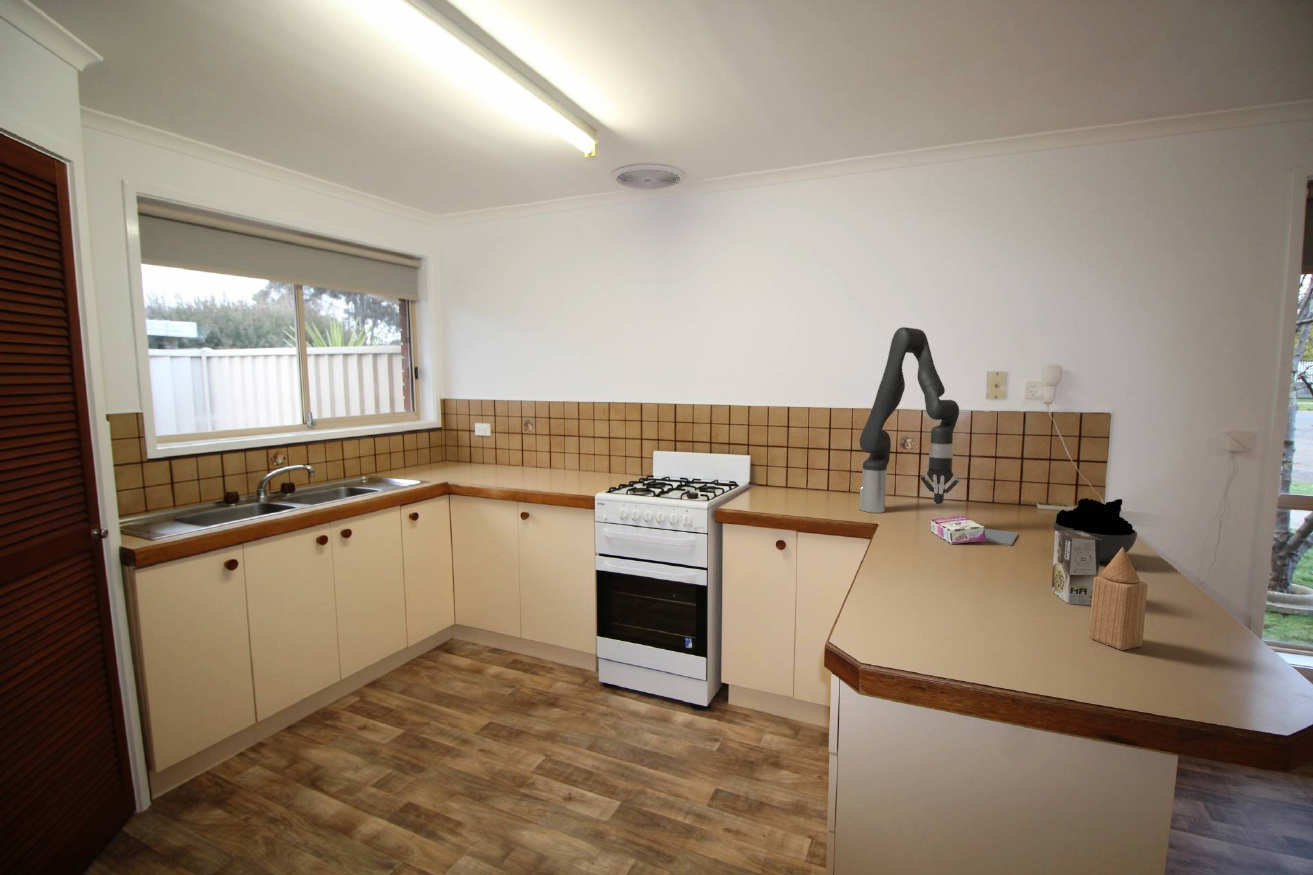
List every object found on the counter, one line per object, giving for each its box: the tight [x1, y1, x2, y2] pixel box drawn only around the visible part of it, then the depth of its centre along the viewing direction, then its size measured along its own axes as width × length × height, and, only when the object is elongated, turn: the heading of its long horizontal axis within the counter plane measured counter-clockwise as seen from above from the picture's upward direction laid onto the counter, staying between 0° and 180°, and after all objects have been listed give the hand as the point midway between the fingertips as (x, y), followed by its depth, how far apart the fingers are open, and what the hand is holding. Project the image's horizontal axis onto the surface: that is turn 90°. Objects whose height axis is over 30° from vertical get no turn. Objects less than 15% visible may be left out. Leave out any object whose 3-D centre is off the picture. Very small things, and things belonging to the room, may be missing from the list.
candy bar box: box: [930, 515, 985, 545], centre depth 200 cm, size 11×5×16 cm
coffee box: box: [1051, 530, 1101, 606], centre depth 144 cm, size 9×6×16 cm
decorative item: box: [1088, 547, 1148, 651], centre depth 120 cm, size 7×7×20 cm
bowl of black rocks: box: [1053, 497, 1138, 563], centre depth 176 cm, size 20×20×19 cm
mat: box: [982, 527, 1019, 547], centre depth 204 cm, size 16×18×1 cm
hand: (938, 503), depth 212 cm, fingers closed
